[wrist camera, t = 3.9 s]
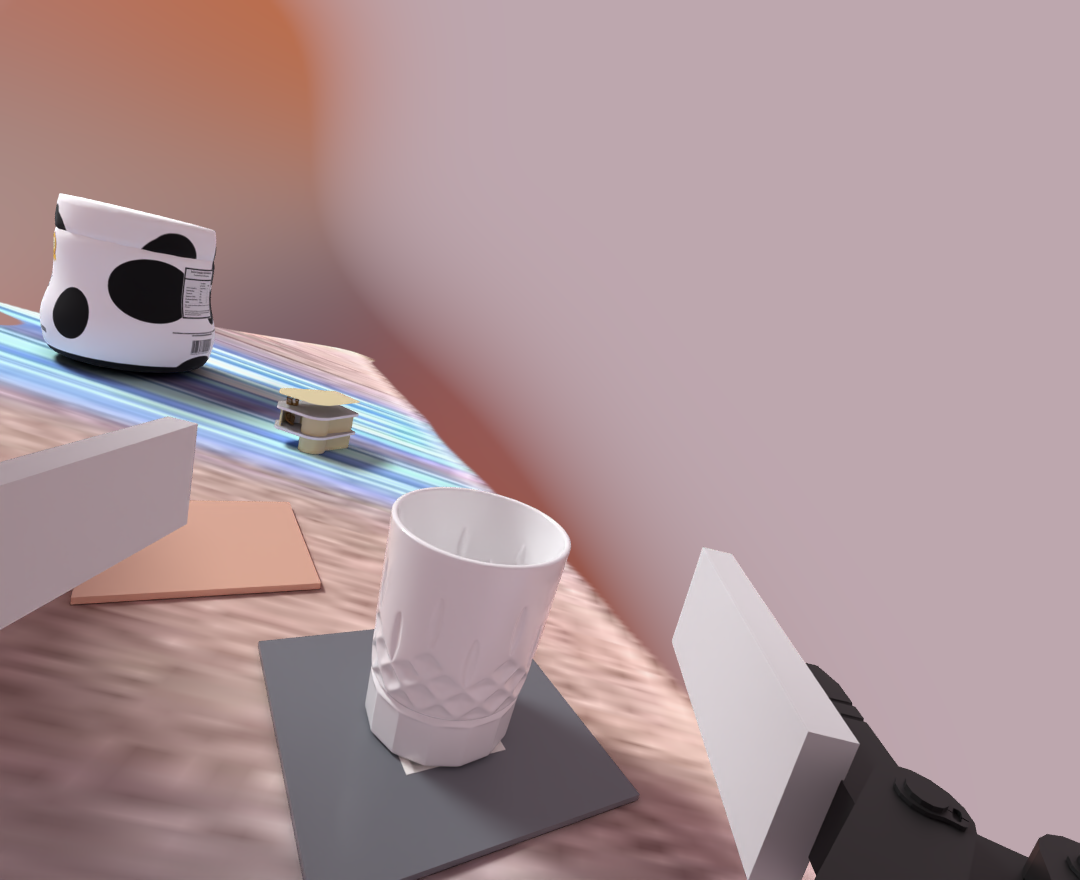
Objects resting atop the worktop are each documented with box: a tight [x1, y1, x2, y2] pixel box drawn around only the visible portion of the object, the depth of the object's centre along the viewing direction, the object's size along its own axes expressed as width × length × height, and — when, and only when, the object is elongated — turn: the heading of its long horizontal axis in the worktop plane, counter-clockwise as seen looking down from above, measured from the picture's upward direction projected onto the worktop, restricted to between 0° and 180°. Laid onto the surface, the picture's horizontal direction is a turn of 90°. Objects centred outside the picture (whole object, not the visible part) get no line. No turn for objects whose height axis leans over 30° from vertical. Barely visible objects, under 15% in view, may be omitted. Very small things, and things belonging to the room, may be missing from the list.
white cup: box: [365, 487, 571, 767], centre depth 27 cm, size 8×8×10 cm
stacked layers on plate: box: [274, 388, 359, 454], centre depth 60 cm, size 10×9×6 cm
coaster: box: [70, 500, 321, 605], centre depth 37 cm, size 12×12×1 cm
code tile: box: [258, 629, 640, 880], centre depth 28 cm, size 14×14×1 cm
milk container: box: [40, 194, 216, 373], centre depth 70 cm, size 17×17×18 cm
